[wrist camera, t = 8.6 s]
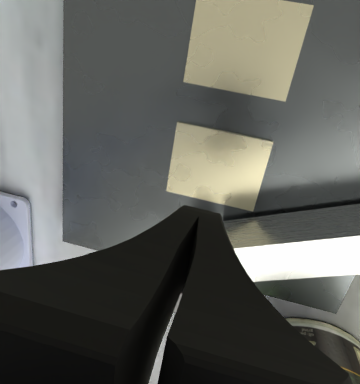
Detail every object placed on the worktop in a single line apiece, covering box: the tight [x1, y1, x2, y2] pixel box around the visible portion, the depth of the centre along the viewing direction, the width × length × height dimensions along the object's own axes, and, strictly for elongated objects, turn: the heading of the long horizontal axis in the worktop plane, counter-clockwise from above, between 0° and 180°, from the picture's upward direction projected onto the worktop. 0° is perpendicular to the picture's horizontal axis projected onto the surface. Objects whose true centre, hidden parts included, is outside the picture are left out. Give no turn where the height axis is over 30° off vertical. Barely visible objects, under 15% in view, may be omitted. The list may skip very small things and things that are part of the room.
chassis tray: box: [63, 0, 360, 313], centre depth 15 cm, size 18×19×5 cm
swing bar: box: [223, 204, 360, 282], centre depth 15 cm, size 2×16×3 cm, turn 105°
